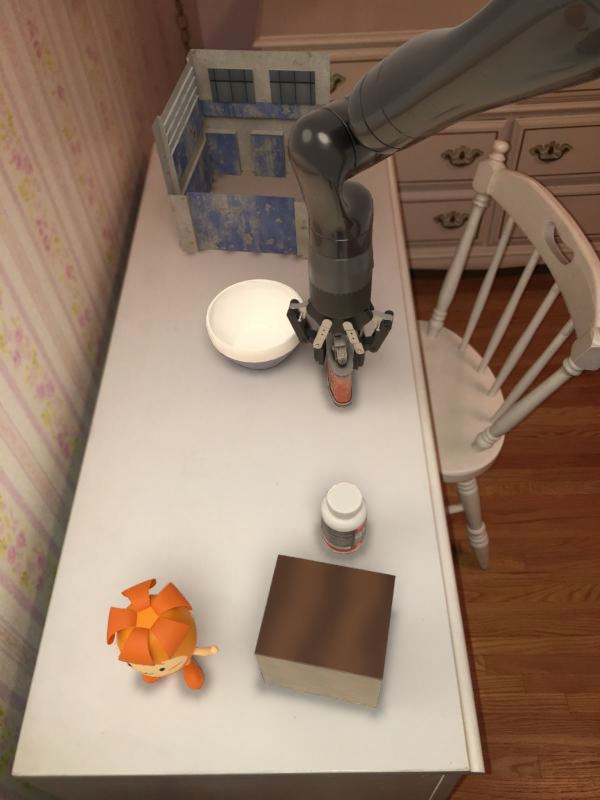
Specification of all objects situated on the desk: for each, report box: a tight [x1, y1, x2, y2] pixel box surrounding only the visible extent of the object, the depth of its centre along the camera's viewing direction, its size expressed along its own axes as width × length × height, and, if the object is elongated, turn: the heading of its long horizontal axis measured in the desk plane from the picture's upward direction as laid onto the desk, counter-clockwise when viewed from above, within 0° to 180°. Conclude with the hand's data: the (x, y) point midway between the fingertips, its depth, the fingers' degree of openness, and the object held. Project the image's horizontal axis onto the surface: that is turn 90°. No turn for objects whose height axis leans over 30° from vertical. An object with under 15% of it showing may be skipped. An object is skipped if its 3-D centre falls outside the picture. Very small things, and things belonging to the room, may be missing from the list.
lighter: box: [326, 333, 354, 409], centre depth 89 cm, size 8×3×10 cm, turn 8°
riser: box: [254, 553, 397, 708], centre depth 67 cm, size 12×10×12 cm
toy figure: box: [106, 578, 219, 691], centre depth 66 cm, size 12×8×15 cm, turn 81°
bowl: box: [205, 278, 308, 370], centre depth 95 cm, size 14×14×8 cm
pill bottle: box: [320, 481, 368, 555], centre depth 76 cm, size 5×5×10 cm
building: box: [151, 48, 331, 260], centre depth 108 cm, size 23×24×23 cm
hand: (339, 362), depth 89 cm, fingers closed on lighter, 4 cm apart
